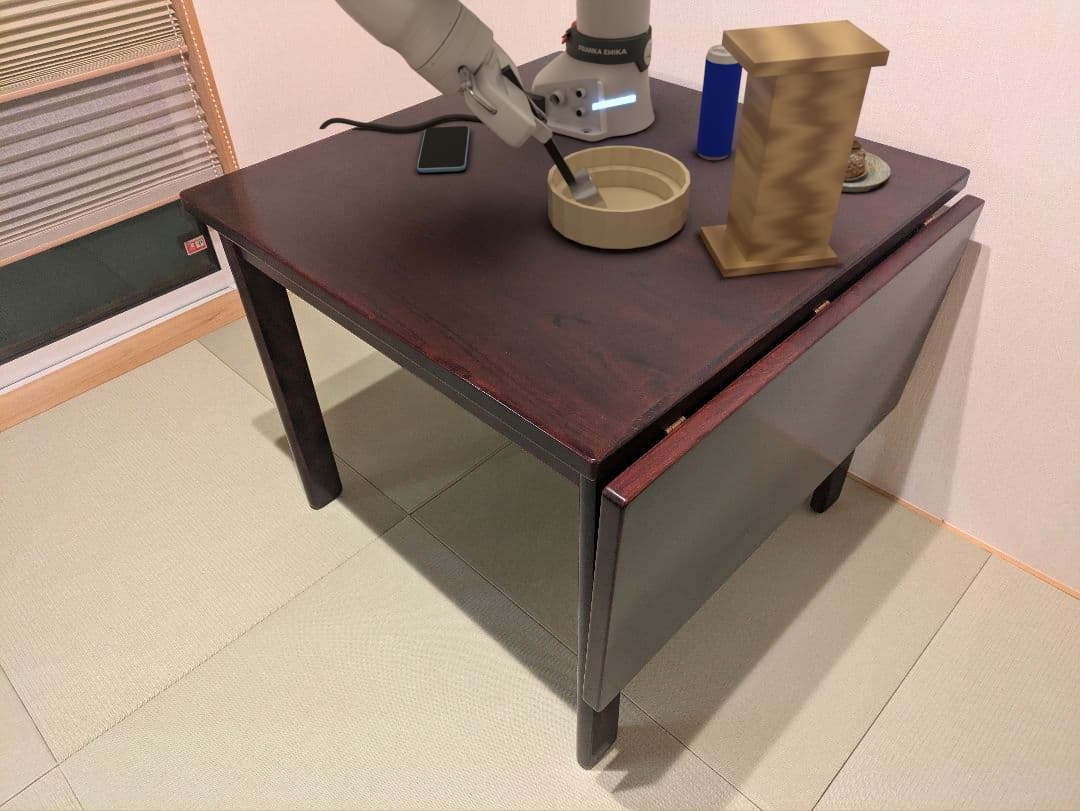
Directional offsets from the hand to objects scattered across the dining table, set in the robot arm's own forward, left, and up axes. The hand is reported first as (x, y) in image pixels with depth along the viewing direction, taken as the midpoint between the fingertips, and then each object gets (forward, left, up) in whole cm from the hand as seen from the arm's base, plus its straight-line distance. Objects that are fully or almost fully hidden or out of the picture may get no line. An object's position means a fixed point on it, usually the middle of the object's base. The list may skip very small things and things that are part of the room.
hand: (545, 130), depth 96 cm
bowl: (+8, +5, -13) cm, 16 cm away
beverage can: (+15, +28, -13) cm, 34 cm away
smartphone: (-24, +15, -13) cm, 31 cm away
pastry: (+34, +28, -13) cm, 46 cm away
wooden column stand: (+28, +4, -13) cm, 31 cm away
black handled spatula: (0, 0, -2) cm, 2 cm away
